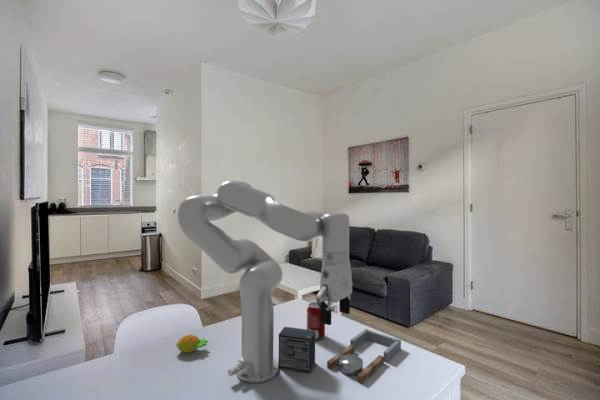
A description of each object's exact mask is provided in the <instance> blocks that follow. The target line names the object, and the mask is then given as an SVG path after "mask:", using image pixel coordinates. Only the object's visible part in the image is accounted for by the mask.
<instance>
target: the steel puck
mask: <svg viewBox="0 0 600 400" xmlns="http://www.w3.org/2000/svg"><path fill="white" fill-rule="evenodd" d="M338 365H339V367H338V370H339V372H340V373H341V374H343V375H344V376H345V377H351V378H353V377H354V378H355V377H358V374H359V373H360V372H361V371H362V370H364V369H363V368H364V367H363V365H364V360H363V359H362V358H361V357H360V356H357V355H356V354H353V353H352V354H346V355H343V356H341V357H340V359H339V364H338Z"/></svg>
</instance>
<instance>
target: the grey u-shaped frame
mask: <svg viewBox="0 0 600 400" xmlns="http://www.w3.org/2000/svg"><path fill="white" fill-rule="evenodd" d="M366 340H367V341H368V340H369V341H372V342H375V343H376V344H380V345H383V346H386V347H387V348H386V349H385V350H384V351H383V357H384V363H388V362H389V361H390V360H392V358H393V357H395V355H396V354H397V353H398V352H399V351H400V350H401V349H402V347H401V345H402V342H401V341H402V340H401V339H397V338H395V337H391V336H390V335H389V336H388V335H385V334H383V333H380V332H377V331H373V330H370V329H367V328H365V329H364V330H363V331H361V332H359V333H358V334H356V335H354V337H352V338H351V339H350V342H349V343H350V344H351V345H354V346H355V349H357V347H359V346H360V345H361V344H363V343H364V342H365V341H366ZM350 344H349V345H350Z"/></svg>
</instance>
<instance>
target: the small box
mask: <svg viewBox="0 0 600 400" xmlns="http://www.w3.org/2000/svg"><path fill="white" fill-rule="evenodd" d="M315 365H316V340H315V331H314V330H307V328H306V329H305V328H298V327H290V326H283V328H282V330H281V331H280V332H279V333H278V369H284V370H287V371H288V370H289V371H296V372H301V373H307V374H311V373H312V371H313V369H314V367H315Z"/></svg>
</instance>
